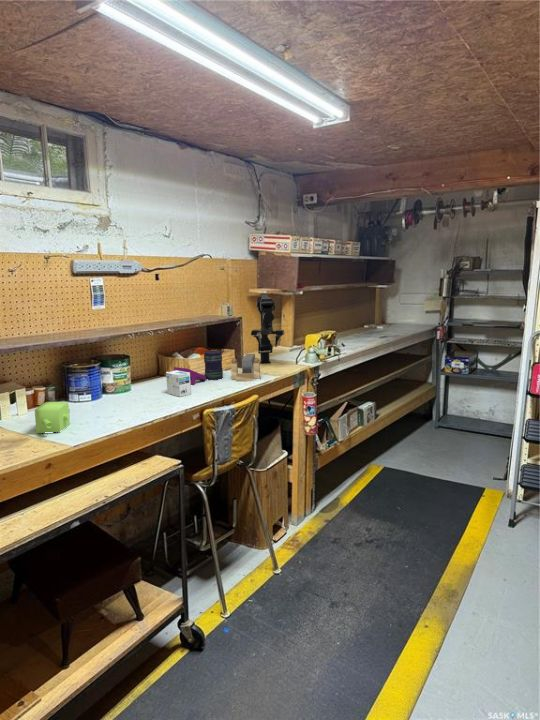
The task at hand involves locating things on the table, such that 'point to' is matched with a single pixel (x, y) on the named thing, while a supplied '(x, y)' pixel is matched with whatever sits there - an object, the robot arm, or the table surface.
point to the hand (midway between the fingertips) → (268, 347)
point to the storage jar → (213, 364)
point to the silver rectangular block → (248, 363)
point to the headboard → (245, 376)
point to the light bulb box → (178, 383)
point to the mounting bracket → (191, 374)
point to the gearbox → (52, 417)
